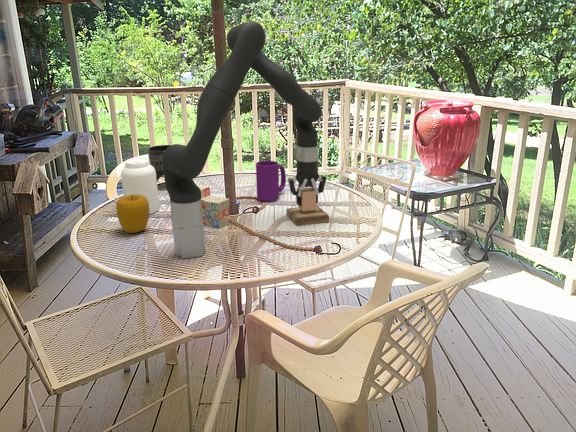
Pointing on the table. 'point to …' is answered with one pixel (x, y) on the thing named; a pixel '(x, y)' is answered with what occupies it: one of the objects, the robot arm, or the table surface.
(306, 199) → the block
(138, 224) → the apple
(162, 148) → the planter
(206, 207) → the stack of blocks
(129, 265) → the table surface
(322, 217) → the base
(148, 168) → the white jar
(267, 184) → the mug
